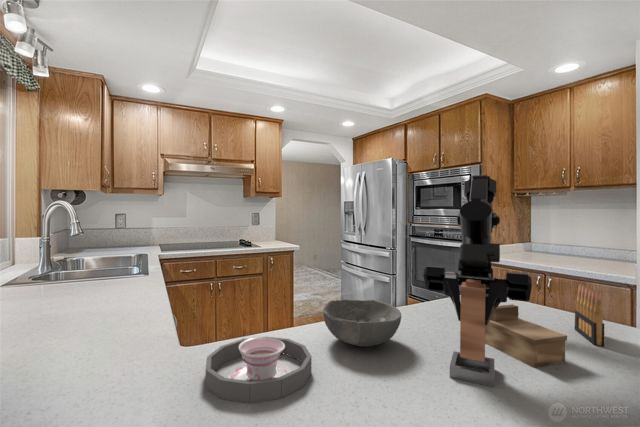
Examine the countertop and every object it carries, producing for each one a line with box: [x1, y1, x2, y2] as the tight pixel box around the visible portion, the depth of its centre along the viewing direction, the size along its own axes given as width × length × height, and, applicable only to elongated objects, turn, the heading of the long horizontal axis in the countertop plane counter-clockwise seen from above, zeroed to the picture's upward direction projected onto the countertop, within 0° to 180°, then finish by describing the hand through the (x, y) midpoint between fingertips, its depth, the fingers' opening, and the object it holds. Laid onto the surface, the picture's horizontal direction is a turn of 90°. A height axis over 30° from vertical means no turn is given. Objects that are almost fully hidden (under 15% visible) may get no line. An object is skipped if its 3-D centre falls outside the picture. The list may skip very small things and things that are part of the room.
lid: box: [488, 303, 568, 345], centre depth 71 cm, size 13×8×4 cm, turn 17°
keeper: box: [449, 350, 496, 388], centre depth 61 cm, size 7×7×2 cm
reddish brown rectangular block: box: [459, 279, 486, 362], centre depth 61 cm, size 4×4×14 cm
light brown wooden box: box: [485, 325, 566, 369], centre depth 71 cm, size 13×8×4 cm, turn 17°
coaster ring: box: [205, 336, 312, 404], centre depth 61 cm, size 19×19×3 cm
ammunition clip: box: [574, 283, 605, 347], centre depth 79 cm, size 11×2×12 cm, turn 162°
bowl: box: [322, 299, 402, 347], centre depth 76 cm, size 18×18×8 cm
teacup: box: [226, 336, 293, 381], centre depth 59 cm, size 12×12×6 cm
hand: (472, 321), depth 60 cm, fingers closed on reddish brown rectangular block, 4 cm apart
